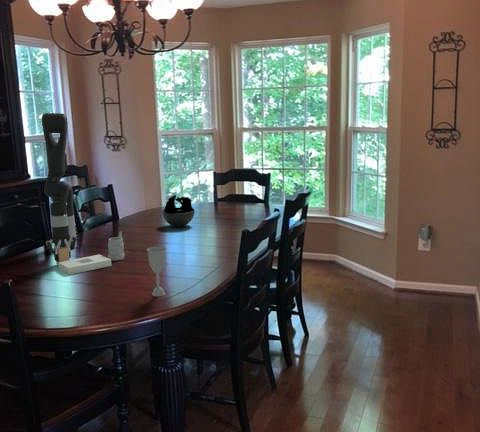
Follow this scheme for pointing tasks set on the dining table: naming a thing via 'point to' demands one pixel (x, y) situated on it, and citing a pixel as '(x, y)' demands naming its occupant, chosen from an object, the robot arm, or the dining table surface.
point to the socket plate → (84, 264)
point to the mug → (116, 248)
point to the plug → (63, 254)
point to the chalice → (157, 266)
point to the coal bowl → (178, 211)
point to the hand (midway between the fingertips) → (62, 260)
